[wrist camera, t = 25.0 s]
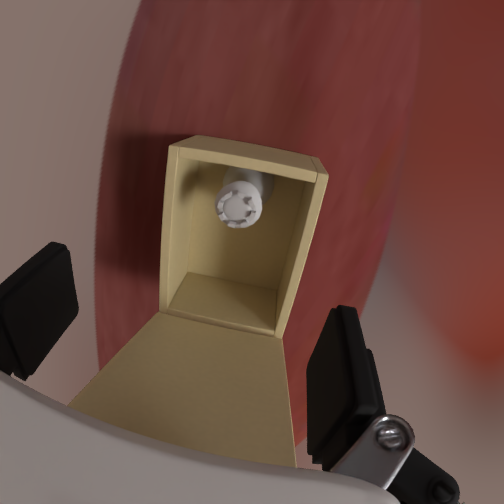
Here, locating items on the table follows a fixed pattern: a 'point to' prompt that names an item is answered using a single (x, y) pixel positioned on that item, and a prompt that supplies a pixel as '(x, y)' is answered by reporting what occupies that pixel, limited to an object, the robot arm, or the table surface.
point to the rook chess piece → (243, 196)
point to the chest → (236, 236)
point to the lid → (198, 390)
